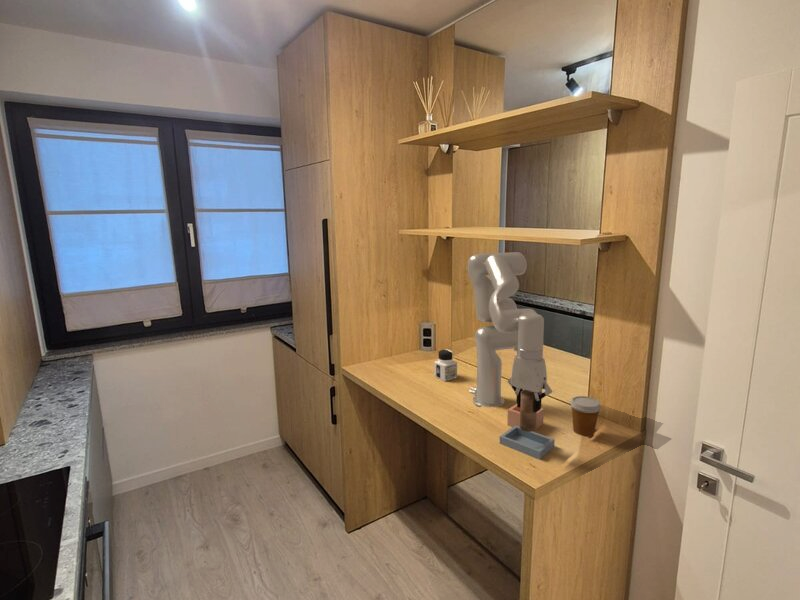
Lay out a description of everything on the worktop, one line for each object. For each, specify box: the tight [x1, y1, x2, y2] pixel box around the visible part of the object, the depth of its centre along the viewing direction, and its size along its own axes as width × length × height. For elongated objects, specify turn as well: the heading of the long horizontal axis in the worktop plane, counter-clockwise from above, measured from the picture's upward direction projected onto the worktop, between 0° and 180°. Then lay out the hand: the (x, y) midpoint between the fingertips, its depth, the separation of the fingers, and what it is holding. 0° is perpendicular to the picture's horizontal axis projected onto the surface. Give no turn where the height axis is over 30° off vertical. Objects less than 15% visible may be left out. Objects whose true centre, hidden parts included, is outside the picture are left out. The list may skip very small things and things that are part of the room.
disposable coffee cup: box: [570, 395, 602, 439], centre depth 146 cm, size 10×10×12 cm
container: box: [433, 348, 458, 382], centre depth 200 cm, size 8×8×13 cm
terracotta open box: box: [507, 403, 545, 432], centre depth 152 cm, size 9×9×7 cm
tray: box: [499, 425, 556, 460], centre depth 139 cm, size 14×10×4 cm
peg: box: [520, 389, 537, 432], centre depth 136 cm, size 5×5×12 cm
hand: (528, 407), depth 136 cm, fingers closed on peg, 5 cm apart
